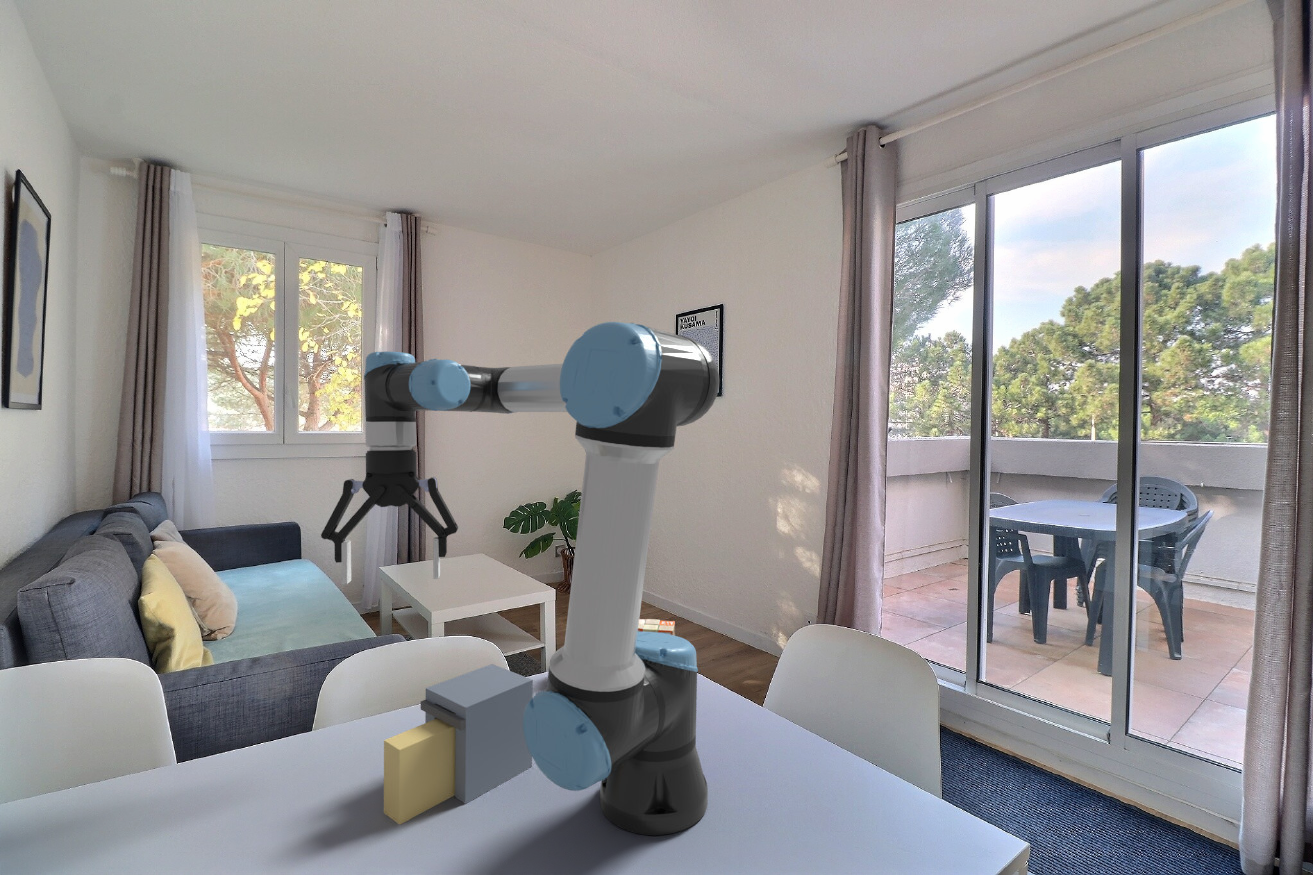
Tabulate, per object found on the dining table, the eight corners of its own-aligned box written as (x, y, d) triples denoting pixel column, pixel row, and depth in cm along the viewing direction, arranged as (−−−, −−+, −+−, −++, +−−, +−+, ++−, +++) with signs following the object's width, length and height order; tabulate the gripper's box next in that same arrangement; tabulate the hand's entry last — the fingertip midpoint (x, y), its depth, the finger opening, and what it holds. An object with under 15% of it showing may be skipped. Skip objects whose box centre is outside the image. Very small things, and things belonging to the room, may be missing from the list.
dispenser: (532, 766, 94) (532, 679, 94) (460, 806, 84) (460, 709, 84) (491, 745, 101) (492, 663, 100) (420, 780, 90) (420, 689, 90)
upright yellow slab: (487, 777, 92) (488, 711, 91) (399, 825, 80) (399, 749, 80) (471, 768, 94) (471, 703, 94) (383, 813, 83) (384, 740, 83)
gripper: (472, 447, 105) (473, 570, 106) (313, 449, 99) (314, 579, 100) (470, 448, 98) (471, 580, 98) (298, 450, 92) (299, 590, 92)
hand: (392, 580), depth 99 cm, fingers open, 13 cm apart
